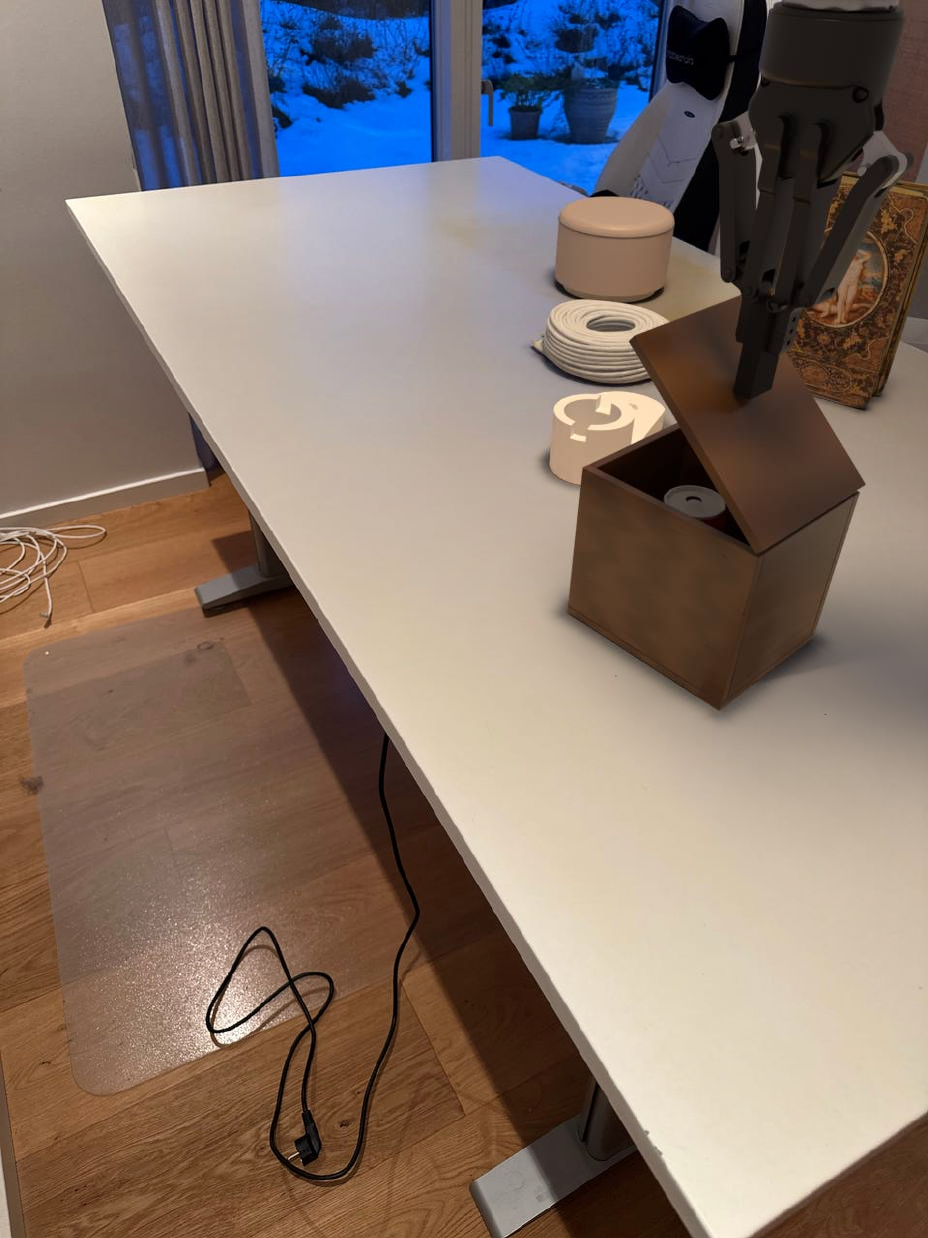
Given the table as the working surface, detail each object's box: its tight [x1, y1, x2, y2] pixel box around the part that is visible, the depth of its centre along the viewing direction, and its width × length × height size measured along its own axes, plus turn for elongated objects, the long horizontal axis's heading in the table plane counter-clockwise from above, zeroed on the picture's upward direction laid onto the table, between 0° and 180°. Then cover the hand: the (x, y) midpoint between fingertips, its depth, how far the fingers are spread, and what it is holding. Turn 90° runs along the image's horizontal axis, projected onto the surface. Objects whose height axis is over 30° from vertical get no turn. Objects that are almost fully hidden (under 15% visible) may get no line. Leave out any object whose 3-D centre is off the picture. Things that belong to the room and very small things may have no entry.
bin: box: [567, 422, 861, 711], centre depth 77 cm, size 17×14×15 cm
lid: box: [629, 294, 867, 554], centre depth 68 cm, size 17×14×1 cm
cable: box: [530, 299, 670, 384], centre depth 125 cm, size 18×18×6 cm
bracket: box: [549, 390, 666, 486], centre depth 105 cm, size 20×9×7 cm, turn 152°
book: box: [770, 170, 928, 409], centre depth 113 cm, size 16×6×25 cm, turn 51°
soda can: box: [663, 485, 726, 533], centre depth 78 cm, size 6×6×12 cm
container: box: [554, 196, 676, 303], centre depth 146 cm, size 18×18×12 cm
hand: (752, 390), depth 67 cm, fingers closed
